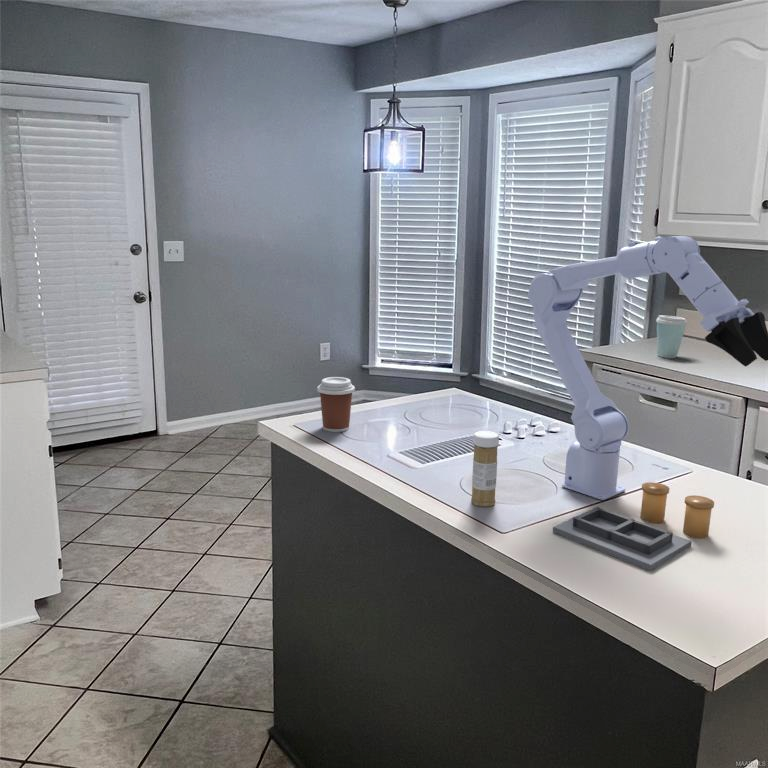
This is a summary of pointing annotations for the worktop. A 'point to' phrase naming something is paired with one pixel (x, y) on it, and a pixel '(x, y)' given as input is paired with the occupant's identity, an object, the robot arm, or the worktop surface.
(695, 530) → the jaw peg
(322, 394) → the coffee cup
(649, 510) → the jaw peg
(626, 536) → the housing
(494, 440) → the sprinkles bottle
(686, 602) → the worktop surface
